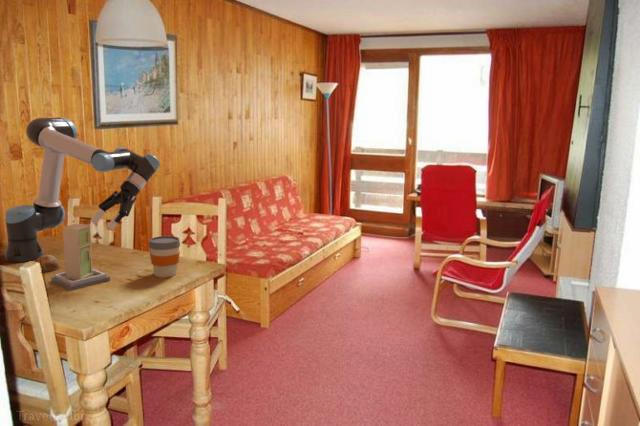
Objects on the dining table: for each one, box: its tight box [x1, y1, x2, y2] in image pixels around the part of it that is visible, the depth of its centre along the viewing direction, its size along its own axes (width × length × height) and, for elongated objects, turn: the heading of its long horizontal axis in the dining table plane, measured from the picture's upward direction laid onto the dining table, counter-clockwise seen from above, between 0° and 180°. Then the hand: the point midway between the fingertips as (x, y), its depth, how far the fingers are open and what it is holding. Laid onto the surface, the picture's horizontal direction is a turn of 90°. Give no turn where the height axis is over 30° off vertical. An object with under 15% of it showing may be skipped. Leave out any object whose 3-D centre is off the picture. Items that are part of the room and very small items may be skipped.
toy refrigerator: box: [62, 223, 94, 280], centre depth 202 cm, size 8×7×21 cm
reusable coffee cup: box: [148, 235, 181, 278], centre depth 214 cm, size 13×13×15 cm
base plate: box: [50, 268, 111, 291], centre depth 204 cm, size 16×16×3 cm
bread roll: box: [34, 254, 61, 273], centre depth 217 cm, size 10×10×8 cm
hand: (101, 225), depth 207 cm, fingers open, 13 cm apart
